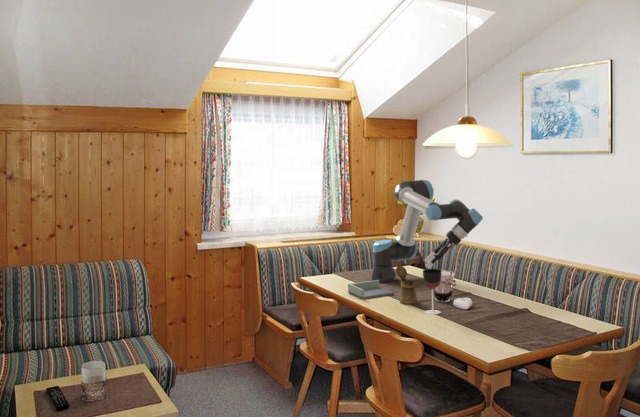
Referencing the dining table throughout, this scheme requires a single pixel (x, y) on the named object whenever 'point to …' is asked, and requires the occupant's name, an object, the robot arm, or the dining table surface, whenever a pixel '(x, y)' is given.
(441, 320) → the dining table surface
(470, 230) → the robot arm
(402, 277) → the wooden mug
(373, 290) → the corner bay
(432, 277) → the wineglass
